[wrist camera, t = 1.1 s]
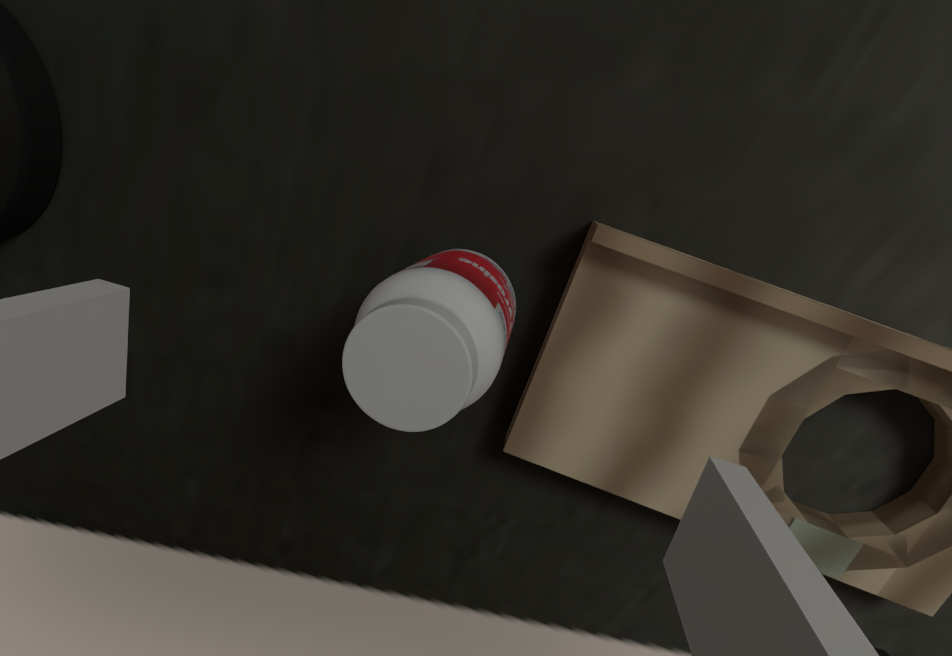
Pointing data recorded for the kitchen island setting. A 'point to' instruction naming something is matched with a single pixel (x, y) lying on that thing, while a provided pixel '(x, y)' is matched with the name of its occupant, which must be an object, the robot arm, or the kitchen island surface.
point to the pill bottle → (429, 340)
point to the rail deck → (731, 402)
